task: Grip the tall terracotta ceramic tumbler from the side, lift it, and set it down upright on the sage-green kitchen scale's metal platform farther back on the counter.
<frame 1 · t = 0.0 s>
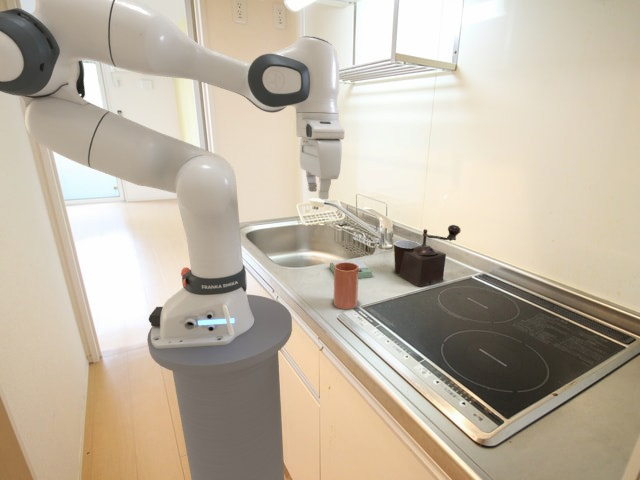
hand: (317, 194, 80), 31 cm above the counter, tool pointing down, fingers open, 8 cm apart
tumbler: (345, 303, 100), on the counter
scale: (350, 272, 121), on the counter
manual coffee grinder: (427, 278, 119), on the counter, touching coffee mug
coffee mug: (407, 271, 123), on the counter, touching manual coffee grinder
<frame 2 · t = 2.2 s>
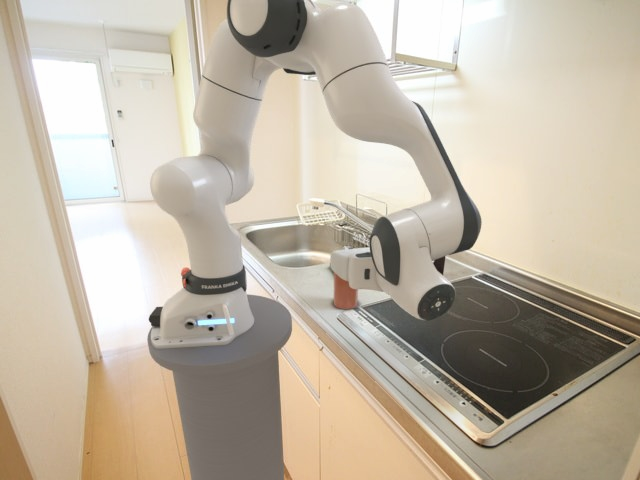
hand: (365, 247, 82), 20 cm above the counter, tool horizontal, fingers open, 8 cm apart
nothing on the counter moved.
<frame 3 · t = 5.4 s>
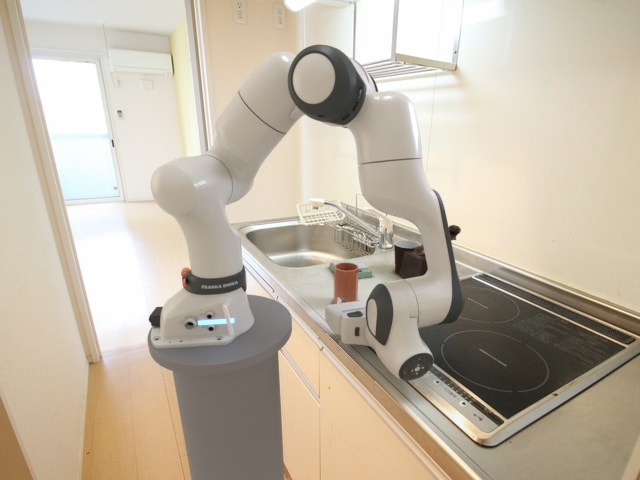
hand: (357, 297, 90), 6 cm above the counter, tool horizontal, fingers open, 8 cm apart
nothing on the counter moved.
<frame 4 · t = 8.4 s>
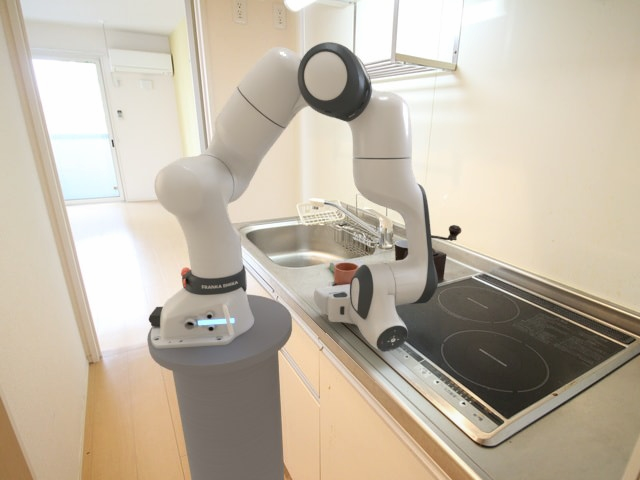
hand: (344, 282, 99), 6 cm above the counter, tool horizontal, fingers closed on tumbler, 6 cm apart
tumbler: (345, 303, 100), on the counter, touching gripper
everything else where it was.
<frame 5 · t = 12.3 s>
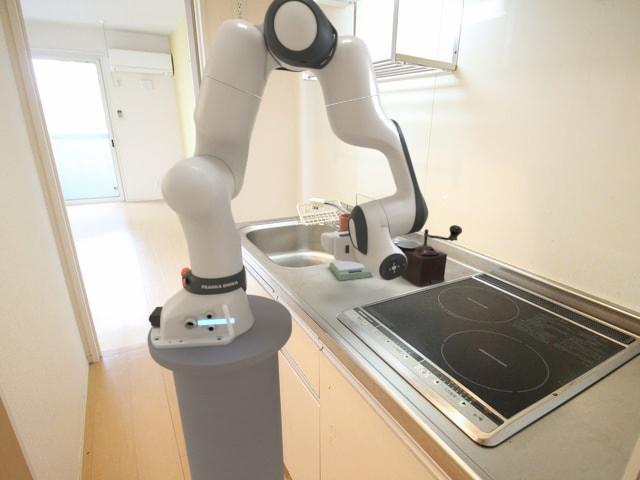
hand: (349, 231, 106), 17 cm above the counter, tool horizontal, fingers closed on tumbler, 6 cm apart
tumbler: (349, 252, 107), point 11 cm above the counter, touching gripper
everything else where it was.
when the fingers open (9 cm above the counter, at t = 16.6 s): tumbler stays where it is, resting on scale.
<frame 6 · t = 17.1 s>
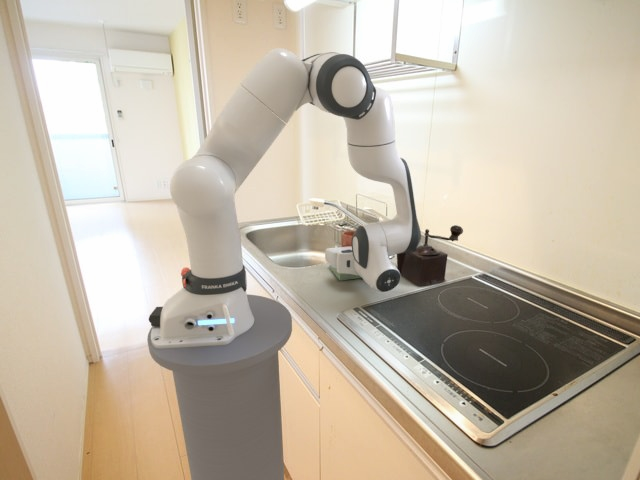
hand: (349, 246, 119), 9 cm above the counter, tool horizontal, fingers open, 8 cm apart
tumbler: (351, 265, 120), point 3 cm above the counter, touching scale
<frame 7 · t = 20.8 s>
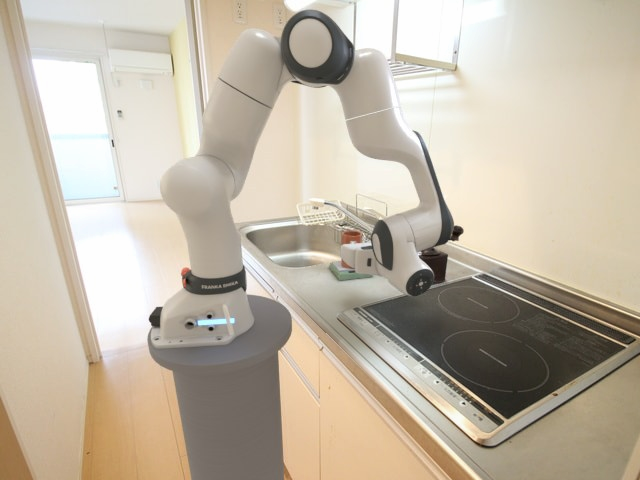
hand: (367, 242, 103), 15 cm above the counter, tool horizontal, fingers open, 8 cm apart
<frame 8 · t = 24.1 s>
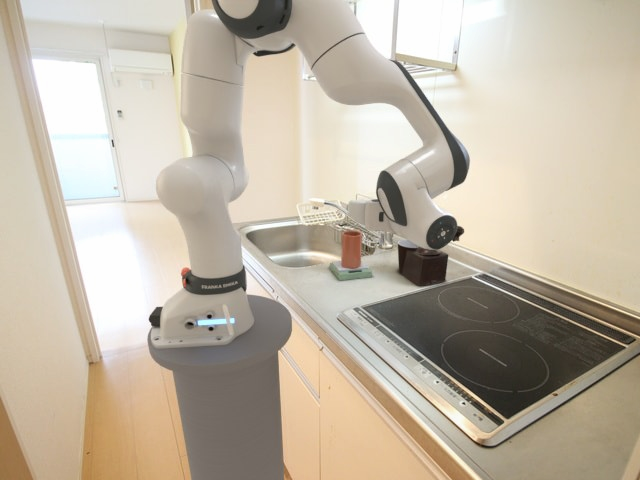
hand: (377, 202, 93), 28 cm above the counter, tool horizontal, fingers open, 8 cm apart
at the end: tumbler inside the target area on the scale (0.8 cm from its centre), point 2.6 cm above the scale's base; tumbler tilted 0°; the gripper is holding nothing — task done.
